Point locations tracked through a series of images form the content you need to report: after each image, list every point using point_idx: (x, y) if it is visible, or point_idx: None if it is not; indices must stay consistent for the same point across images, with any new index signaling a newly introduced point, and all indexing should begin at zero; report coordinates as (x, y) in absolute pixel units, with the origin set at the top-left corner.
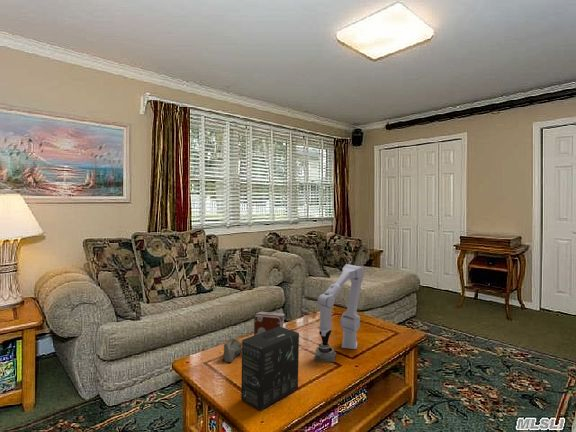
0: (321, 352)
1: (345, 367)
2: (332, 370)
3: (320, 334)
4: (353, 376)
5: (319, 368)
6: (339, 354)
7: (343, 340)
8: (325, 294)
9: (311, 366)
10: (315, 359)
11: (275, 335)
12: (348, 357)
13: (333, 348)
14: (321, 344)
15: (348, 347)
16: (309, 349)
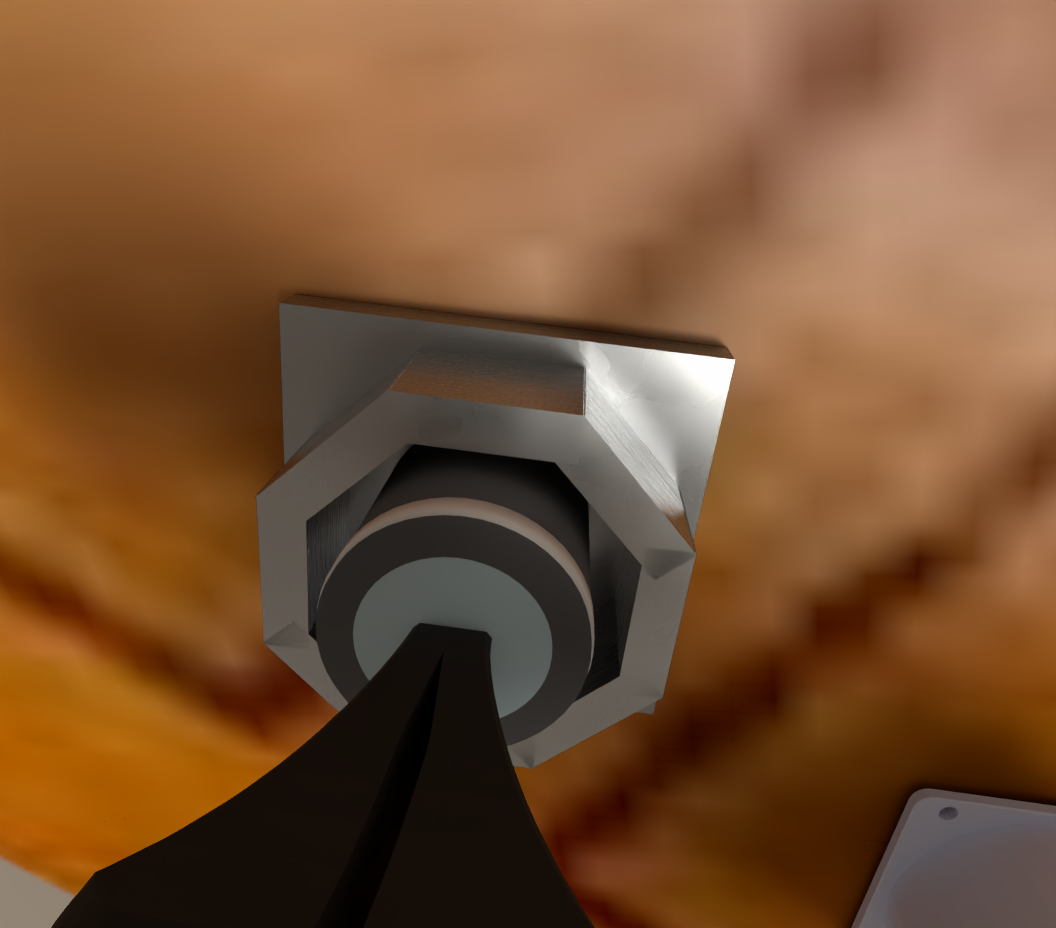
0: (265, 524)
1: (208, 775)
2: (41, 613)
3: (117, 879)
4: (4, 833)
5: (12, 419)
6: (639, 735)
7: (1043, 918)
8: None
9: (20, 267)
10: (288, 340)
11: None
12: (546, 836)
13: (542, 756)
14: (477, 580)
15: (890, 885)
16: (853, 158)
